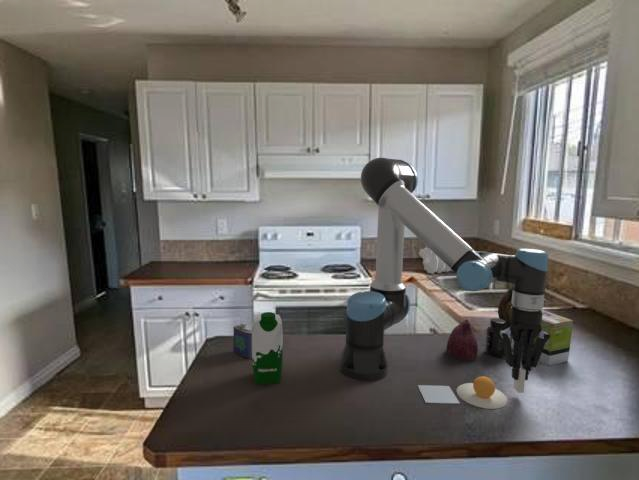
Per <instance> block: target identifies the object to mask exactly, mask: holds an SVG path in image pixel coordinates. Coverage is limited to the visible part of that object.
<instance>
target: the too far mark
mask: <svg viewBox="0 0 639 480" xmlns="http://www.w3.org/2000/svg"><path fill="white" fill-rule="evenodd" d="M417 388H418V390H419V391H420V392H419V393H420V394H421V396H422V399H423V401H424V402H425V404H444V405H445V404H447V405H448V404H449V405H451V404H452V405H460V404H461V403H460V401H459V400H458V398H457V396H456V395H455V393H454V391H453V390H452V389H451V387H450V385H426V384H425V385H424V384H423V385H421V384H419V385H418V384H417Z"/></svg>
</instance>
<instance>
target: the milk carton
mask: <svg viewBox="0 0 639 480" xmlns="http://www.w3.org/2000/svg"><path fill="white" fill-rule="evenodd" d="M252 319H253V320H252V324H251V325H252V326H251V331H252V359H251V363H252V371H253V376H254V380H255V382H254V383H255V385H257V386H258V385H266V384H267V385H268V384H279V383H281V378H282V371H283V355H284V354H283V349H284V348H283V347H284V345H283V343H284V342H283V339H284V338H283V337H284V335H283V334H284V333H283V328H284V327H283V322H282V318H281V316H280V314H276V313H275V312H271V311H267V312H262V313H261V314H259V315H258V314H257V315H253V317H252Z"/></svg>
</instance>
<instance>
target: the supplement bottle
mask: <svg viewBox="0 0 639 480" xmlns="http://www.w3.org/2000/svg"><path fill="white" fill-rule="evenodd" d="M505 327H506V321H505V320H503V319H499V317H498V318H497V317H493V318H491V319H490V322H489V326H488V327H486V331H485V343H484V353H485V354H486V355H488V356H489V357H493V358H498V359H499V358H505V354H504V348H503V342H502V337H501V336H500V334H499V331H500V330H502V331H504V330H505V329H506V328H505Z"/></svg>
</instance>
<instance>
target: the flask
mask: <svg viewBox="0 0 639 480" xmlns="http://www.w3.org/2000/svg"><path fill="white" fill-rule="evenodd" d="M232 343H233V349H232V351H233V354H234V355H236V356H238V357H240V358H244V359H245V360H252V329H251V330H250V329H247V328H246V323H244V324H243V323H241V324H239V325H237V324H236V325H234V326H233V342H232Z"/></svg>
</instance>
